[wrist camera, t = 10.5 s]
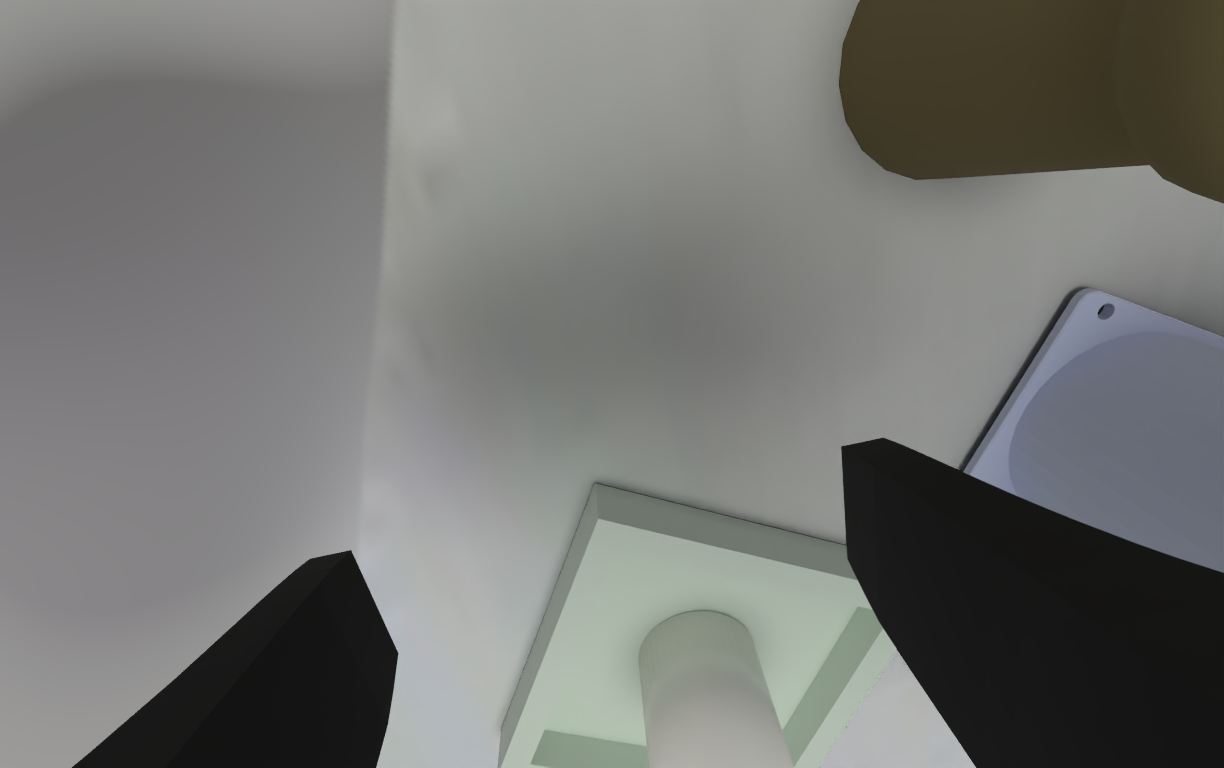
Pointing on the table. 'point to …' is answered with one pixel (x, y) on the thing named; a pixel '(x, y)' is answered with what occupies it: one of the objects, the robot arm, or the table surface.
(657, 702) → the salt shaker
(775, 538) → the tray
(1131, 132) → the cork
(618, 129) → the table surface
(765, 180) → the table surface
